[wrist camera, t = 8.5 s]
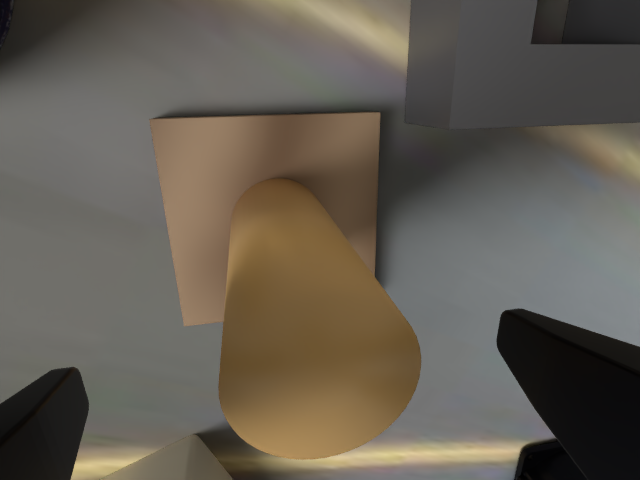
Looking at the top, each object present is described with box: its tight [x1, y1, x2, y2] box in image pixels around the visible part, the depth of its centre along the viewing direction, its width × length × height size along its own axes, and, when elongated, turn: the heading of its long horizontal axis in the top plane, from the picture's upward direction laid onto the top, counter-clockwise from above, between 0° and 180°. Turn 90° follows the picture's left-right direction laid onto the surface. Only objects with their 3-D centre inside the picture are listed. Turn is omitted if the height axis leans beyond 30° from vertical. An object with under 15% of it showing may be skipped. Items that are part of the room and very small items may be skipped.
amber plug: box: [219, 178, 421, 459], centre depth 12 cm, size 4×4×10 cm
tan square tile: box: [149, 112, 380, 326], centre depth 17 cm, size 9×9×1 cm
